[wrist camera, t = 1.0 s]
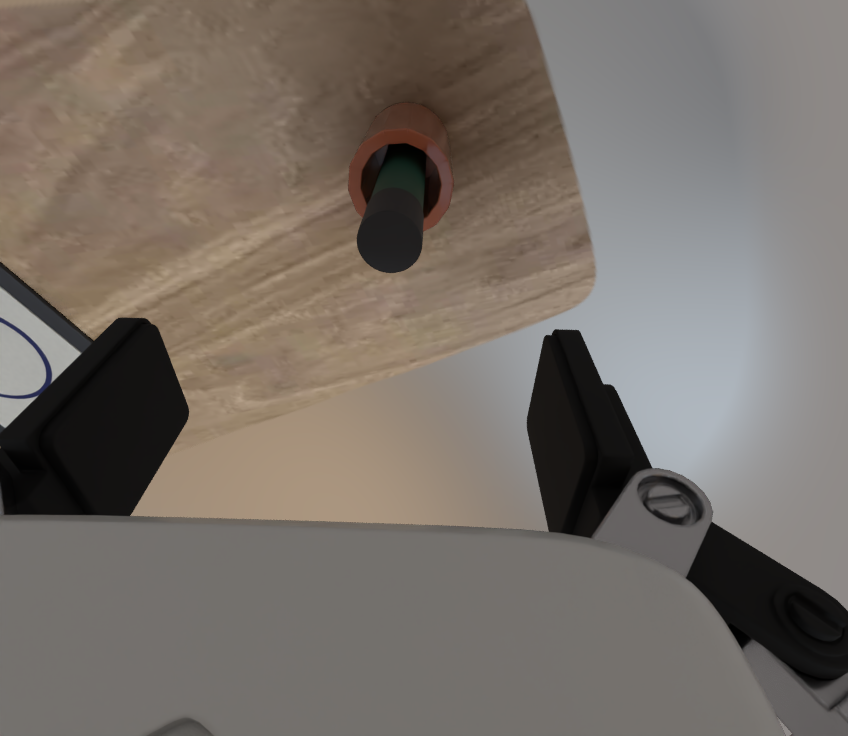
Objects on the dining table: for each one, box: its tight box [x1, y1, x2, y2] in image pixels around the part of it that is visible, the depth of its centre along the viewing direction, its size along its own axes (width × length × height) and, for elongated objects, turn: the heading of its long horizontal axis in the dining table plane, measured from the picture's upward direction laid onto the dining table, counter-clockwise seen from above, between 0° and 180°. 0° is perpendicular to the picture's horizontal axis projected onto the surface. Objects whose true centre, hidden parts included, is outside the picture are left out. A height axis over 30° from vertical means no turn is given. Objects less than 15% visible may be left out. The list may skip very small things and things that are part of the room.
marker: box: [357, 143, 427, 273], centre depth 22 cm, size 2×2×13 cm
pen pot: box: [348, 102, 454, 232], centre depth 24 cm, size 5×5×7 cm
